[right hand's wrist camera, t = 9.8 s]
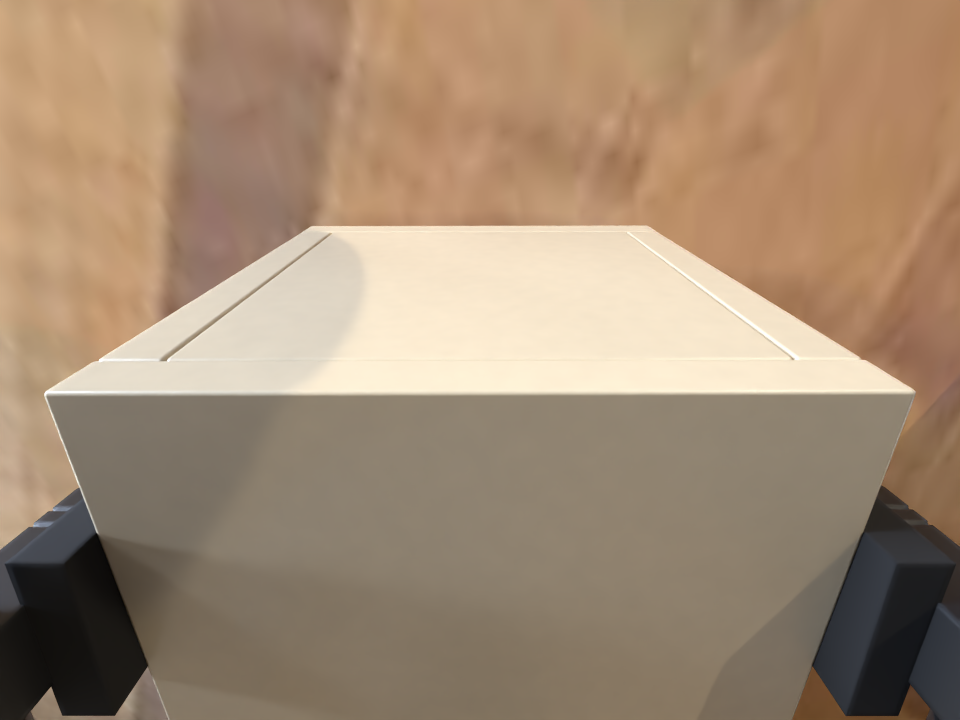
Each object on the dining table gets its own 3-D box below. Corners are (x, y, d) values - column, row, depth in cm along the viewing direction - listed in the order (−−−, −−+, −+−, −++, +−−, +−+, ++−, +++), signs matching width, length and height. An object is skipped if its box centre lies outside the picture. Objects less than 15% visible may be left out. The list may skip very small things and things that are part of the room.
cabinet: (589, 684, 25) (664, 1059, 15) (370, 685, 25) (297, 1060, 15) (648, 225, 16) (919, 390, 6) (310, 226, 16) (40, 392, 6)
